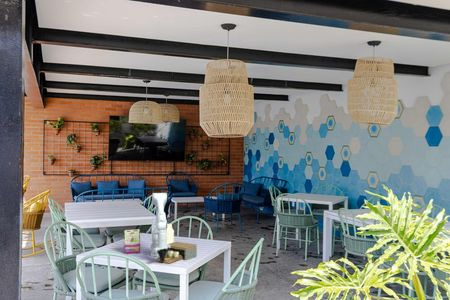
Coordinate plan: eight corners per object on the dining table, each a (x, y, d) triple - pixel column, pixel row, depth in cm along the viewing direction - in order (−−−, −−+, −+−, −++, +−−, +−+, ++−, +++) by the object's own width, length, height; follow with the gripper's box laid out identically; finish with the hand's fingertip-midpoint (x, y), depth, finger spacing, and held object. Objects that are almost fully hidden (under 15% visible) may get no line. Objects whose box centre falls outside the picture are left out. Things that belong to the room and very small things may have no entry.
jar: (169, 241, 338) (169, 222, 338) (176, 243, 330) (176, 224, 330) (157, 243, 331) (157, 224, 331) (163, 245, 323) (163, 226, 323)
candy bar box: (140, 251, 305) (140, 229, 305) (140, 253, 300) (140, 230, 300) (124, 252, 302) (124, 229, 302) (124, 254, 297) (124, 230, 297)
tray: (157, 262, 276) (157, 253, 276) (170, 257, 288) (170, 249, 288) (169, 264, 270) (169, 255, 270) (182, 259, 282) (182, 251, 282)
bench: (165, 256, 289) (165, 244, 289) (176, 253, 299) (176, 241, 299) (186, 260, 279) (186, 248, 279) (196, 256, 290) (196, 244, 290)
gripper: (159, 242, 264) (159, 264, 264) (174, 238, 276) (174, 259, 276) (151, 241, 268) (151, 262, 268) (165, 237, 280) (165, 257, 280)
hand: (162, 260), depth 272 cm, fingers closed
